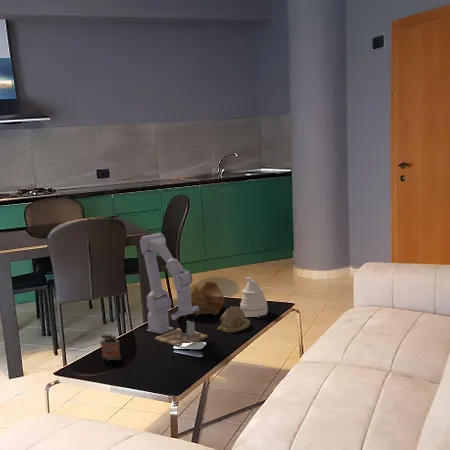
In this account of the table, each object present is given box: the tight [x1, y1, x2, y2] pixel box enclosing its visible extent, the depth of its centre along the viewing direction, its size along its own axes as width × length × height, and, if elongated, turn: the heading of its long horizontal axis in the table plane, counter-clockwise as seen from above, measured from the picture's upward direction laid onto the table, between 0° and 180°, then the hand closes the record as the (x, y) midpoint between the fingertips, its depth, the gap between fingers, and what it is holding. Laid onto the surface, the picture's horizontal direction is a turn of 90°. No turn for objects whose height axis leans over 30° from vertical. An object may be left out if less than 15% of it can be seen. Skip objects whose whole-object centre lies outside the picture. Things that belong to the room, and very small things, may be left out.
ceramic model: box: [217, 305, 251, 333], centre depth 249 cm, size 14×11×10 cm
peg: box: [181, 321, 196, 337], centre depth 236 cm, size 3×5×7 cm, turn 49°
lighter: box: [99, 334, 122, 361], centre depth 221 cm, size 8×3×10 cm, turn 71°
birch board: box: [154, 327, 208, 346], centre depth 239 cm, size 18×14×3 cm
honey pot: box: [239, 276, 269, 318], centre depth 266 cm, size 13×13×18 cm
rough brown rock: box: [190, 279, 225, 317], centre depth 273 cm, size 23×17×15 cm
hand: (187, 331), depth 236 cm, fingers closed on peg, 3 cm apart
